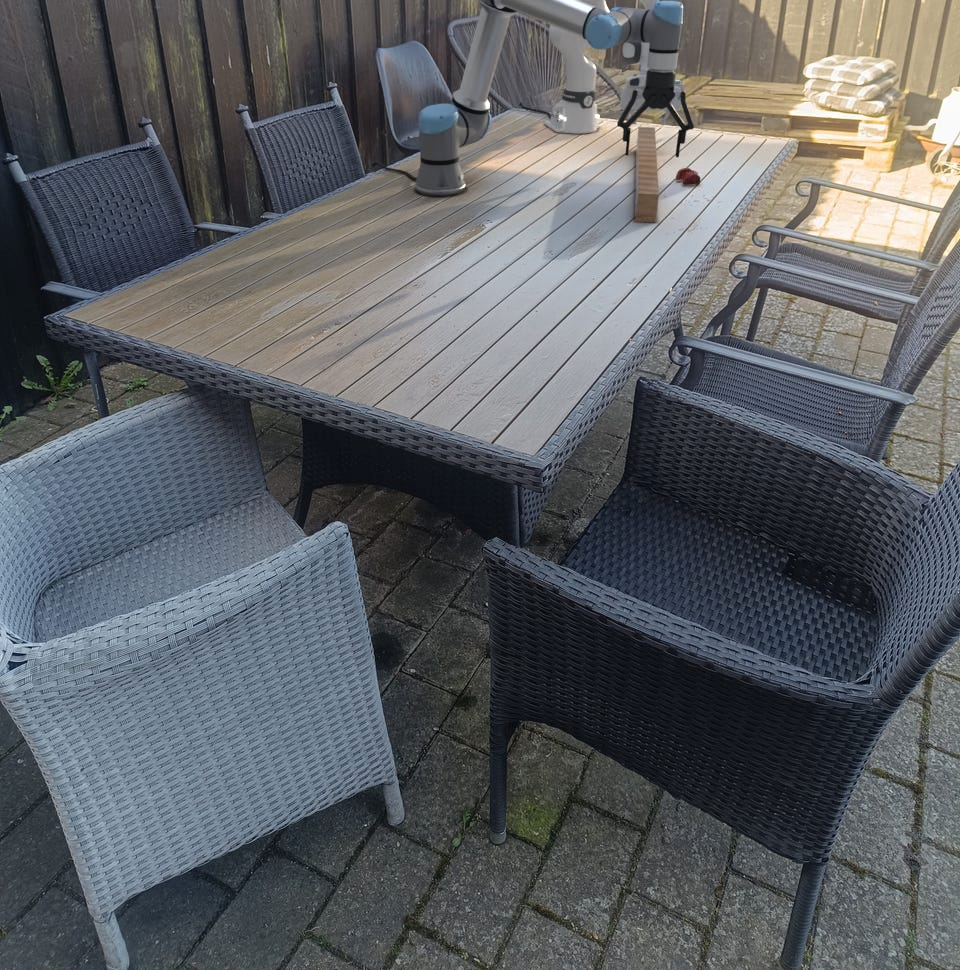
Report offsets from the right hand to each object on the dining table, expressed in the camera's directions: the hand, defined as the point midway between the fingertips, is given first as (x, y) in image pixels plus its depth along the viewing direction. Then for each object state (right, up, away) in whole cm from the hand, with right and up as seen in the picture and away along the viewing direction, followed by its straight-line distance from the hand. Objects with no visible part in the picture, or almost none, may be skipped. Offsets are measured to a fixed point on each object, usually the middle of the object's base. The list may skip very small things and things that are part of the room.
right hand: (648, 124), depth 284 cm
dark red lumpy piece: (+8, -27, -19) cm, 34 cm away
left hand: (-10, -31, -53) cm, 62 cm away
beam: (-5, -26, -19) cm, 33 cm away
